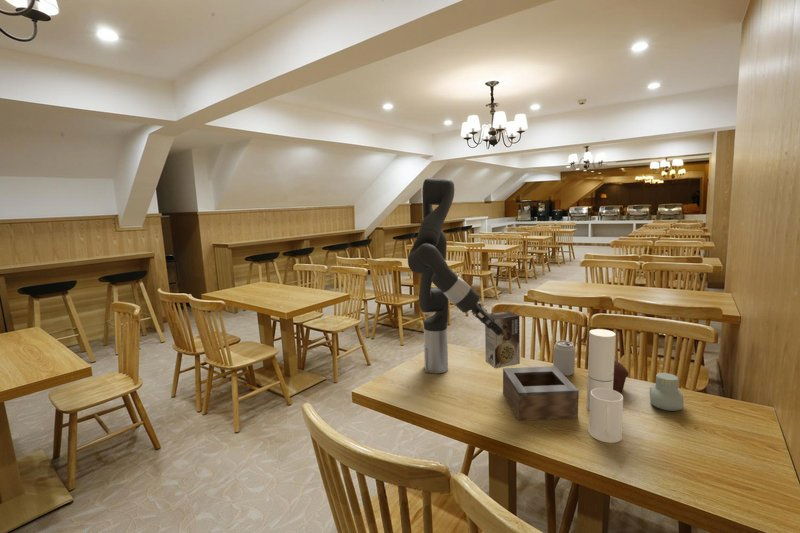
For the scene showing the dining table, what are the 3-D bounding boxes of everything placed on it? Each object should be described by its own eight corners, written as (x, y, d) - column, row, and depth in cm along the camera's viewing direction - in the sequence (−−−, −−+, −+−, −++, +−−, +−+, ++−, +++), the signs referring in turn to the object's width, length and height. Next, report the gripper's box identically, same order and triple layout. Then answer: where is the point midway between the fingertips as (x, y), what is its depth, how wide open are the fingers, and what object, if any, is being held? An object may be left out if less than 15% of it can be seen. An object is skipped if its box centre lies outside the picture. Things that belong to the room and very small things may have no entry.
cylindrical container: (614, 407, 126) (618, 332, 122) (607, 417, 121) (611, 338, 117) (590, 400, 131) (593, 327, 127) (583, 409, 126) (586, 333, 122)
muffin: (583, 384, 142) (584, 358, 141) (606, 378, 146) (608, 352, 145) (611, 399, 131) (612, 370, 130) (635, 392, 135) (637, 364, 133)
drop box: (518, 420, 121) (518, 392, 119) (503, 392, 139) (503, 368, 137) (577, 418, 121) (578, 390, 119) (554, 390, 139) (555, 366, 137)
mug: (622, 453, 104) (624, 410, 102) (586, 444, 108) (588, 403, 106) (621, 429, 114) (623, 390, 112) (588, 423, 118) (590, 385, 116)
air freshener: (648, 396, 133) (650, 367, 131) (678, 401, 129) (681, 371, 127) (651, 411, 123) (653, 381, 122) (683, 417, 119) (686, 386, 118)
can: (577, 376, 149) (578, 346, 147) (557, 377, 149) (558, 346, 147) (569, 368, 156) (570, 339, 154) (550, 369, 156) (551, 339, 154)
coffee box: (509, 357, 132) (509, 310, 130) (520, 364, 126) (520, 315, 124) (484, 361, 130) (484, 313, 127) (494, 368, 124) (494, 318, 121)
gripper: (473, 291, 117) (512, 328, 118) (466, 281, 131) (501, 314, 132) (455, 309, 118) (494, 345, 119) (450, 297, 132) (485, 330, 133)
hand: (498, 329), depth 126 cm, fingers closed on coffee box, 7 cm apart
